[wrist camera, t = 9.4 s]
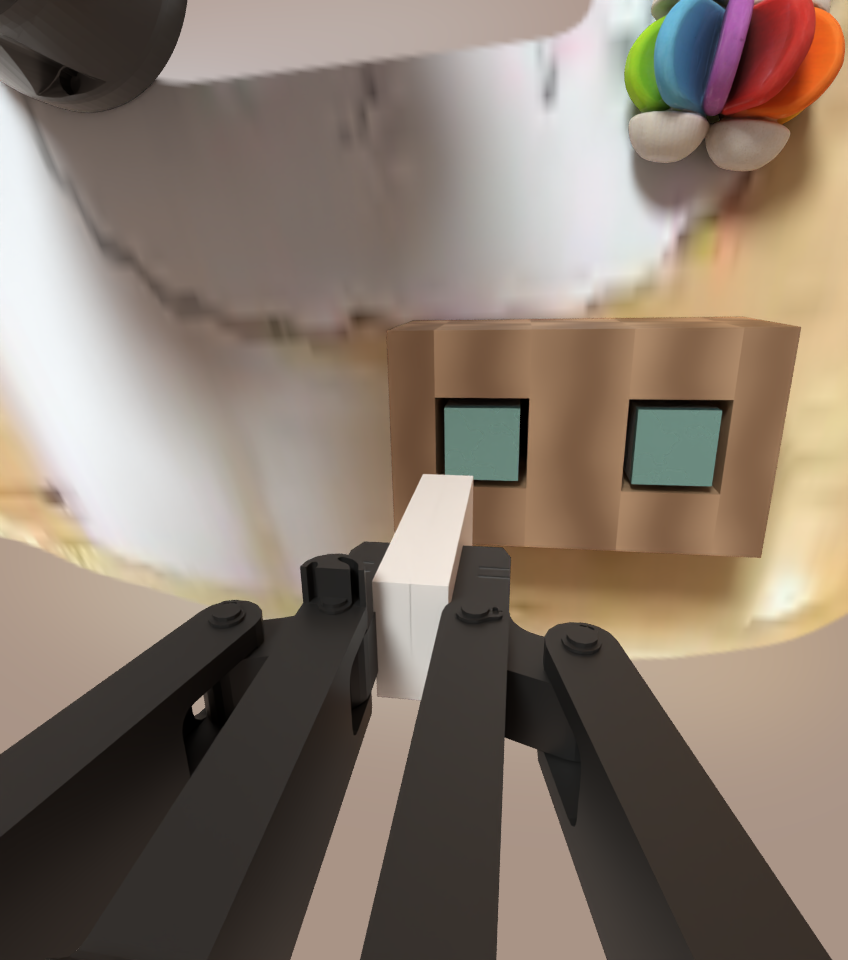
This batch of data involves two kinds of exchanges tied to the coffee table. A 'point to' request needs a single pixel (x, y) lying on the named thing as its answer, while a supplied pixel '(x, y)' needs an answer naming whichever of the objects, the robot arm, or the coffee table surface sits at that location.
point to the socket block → (598, 425)
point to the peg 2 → (671, 442)
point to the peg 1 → (482, 438)
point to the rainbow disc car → (728, 76)
